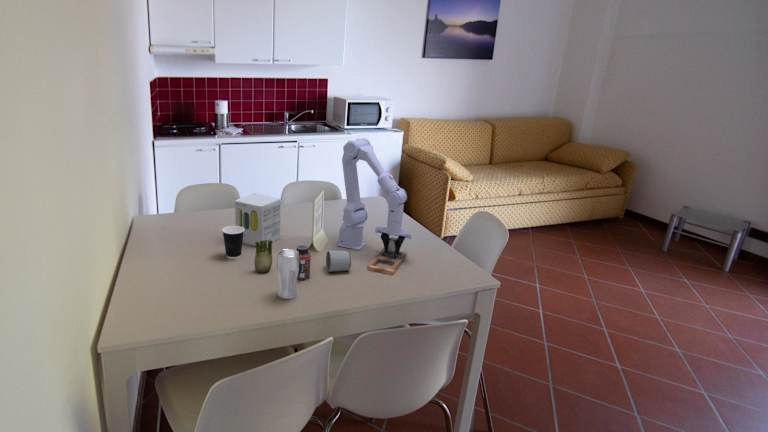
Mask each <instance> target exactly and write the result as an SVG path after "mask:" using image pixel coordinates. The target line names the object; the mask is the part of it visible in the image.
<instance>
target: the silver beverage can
mask: <svg viewBox="0 0 768 432" xmlns="http://www.w3.org/2000/svg"><path fill="white" fill-rule="evenodd" d="M276 271H277V275H278V283H279V285H278V287H279V288H278V293H277V295H278V297H279V298H280V299H283V300H293V299H295V298H297V296H298V290H297V281H298V279H297V277H298V272H299V252H298V251H297V250H296V249H293V248H282V249H281V250H278V252H277V259H276Z"/></svg>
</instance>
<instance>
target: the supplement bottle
mask: <svg viewBox="0 0 768 432" xmlns="http://www.w3.org/2000/svg"><path fill="white" fill-rule="evenodd" d="M295 250H297V251H298V252H299V272H298V277H297V281H298V280H299V281H305V280H307V279H309V278H310V277H311V259H312V258H311V257H312V255H311V252H309V247H308V245H305V244H304V245H303V244H302V245H297V246H296V249H295Z"/></svg>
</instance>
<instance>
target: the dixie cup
mask: <svg viewBox="0 0 768 432" xmlns="http://www.w3.org/2000/svg"><path fill="white" fill-rule="evenodd" d="M221 232H222V235H223V242H224V247H225V248H224V249H225V256H226V258H227V259H228V258H229V259H228V260H238V259H240V258H241V256H242V251H243V243H242V242H243V232H244V228H243V227H240V226H236V225H228V226H224V227H223V228H222V229H221Z"/></svg>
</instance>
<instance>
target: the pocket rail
mask: <svg viewBox="0 0 768 432" xmlns="http://www.w3.org/2000/svg"><path fill="white" fill-rule="evenodd" d="M386 254H387V252H385V249H384V247H383V248H382V249H381V250H380V251H379V252H378V254H376V256H375V257H374V258H373V259H372V261H370V263H369V264H368V265H367V267H366V268H367V269H366V270H367V271H371V272H376V273H380V274H383V275H384V274H386V275H390V276H393V275H394V274H395V273H396V272H397V271H398V269H399V268H400V266H401V265H402V263H403V262H404V260H405V259H406V257H407V255H408V252H407V251H402V250H400V251H399V253H398V254H397V256H398V258H396V259H394V258H388V257H386V256H385V255H386ZM378 263H380V264H385V265H390V266H391V268H387V267H381V266H376V265H377V264H378Z"/></svg>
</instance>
